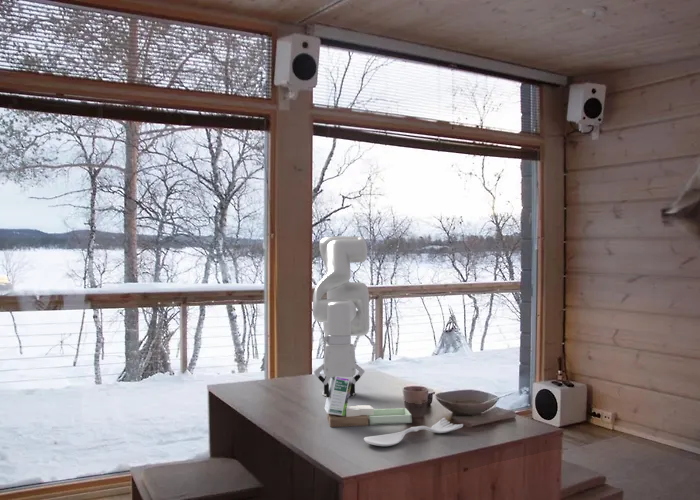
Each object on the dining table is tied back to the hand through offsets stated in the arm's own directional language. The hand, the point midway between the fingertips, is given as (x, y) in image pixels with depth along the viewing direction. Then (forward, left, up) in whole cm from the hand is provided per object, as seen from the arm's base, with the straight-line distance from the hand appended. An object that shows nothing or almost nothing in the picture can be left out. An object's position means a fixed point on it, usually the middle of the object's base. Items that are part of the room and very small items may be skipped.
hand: (339, 395), depth 201 cm
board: (-1, +3, -9) cm, 9 cm away
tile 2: (-1, +8, -6) cm, 10 cm away
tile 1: (0, +4, -6) cm, 7 cm away
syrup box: (0, -2, -6) cm, 6 cm away
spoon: (+20, +19, -9) cm, 29 cm away
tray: (-1, +16, -9) cm, 18 cm away
